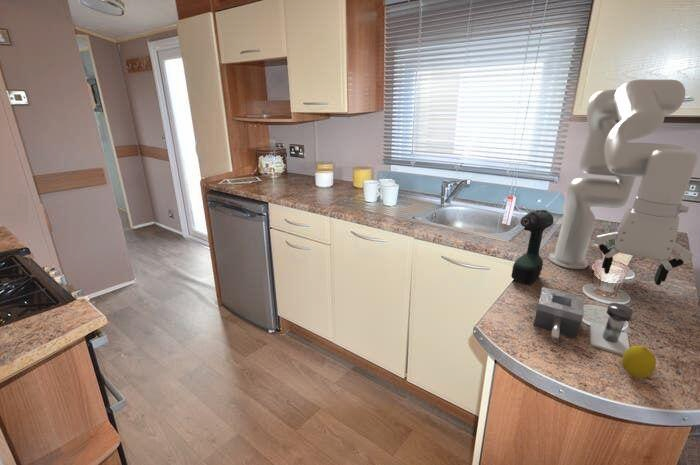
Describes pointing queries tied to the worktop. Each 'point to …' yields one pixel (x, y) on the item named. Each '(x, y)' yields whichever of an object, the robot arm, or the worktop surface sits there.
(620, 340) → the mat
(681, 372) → the worktop surface
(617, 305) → the dark gray knob
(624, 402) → the worktop surface
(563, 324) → the block
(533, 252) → the power drill
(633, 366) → the lemon
